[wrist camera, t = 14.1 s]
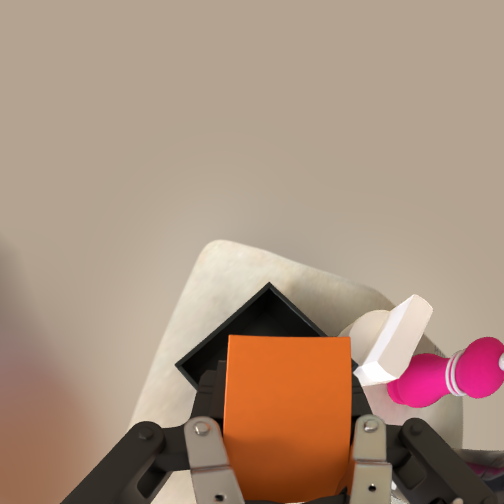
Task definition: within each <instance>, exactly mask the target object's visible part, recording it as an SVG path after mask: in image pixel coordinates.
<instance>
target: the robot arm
mask: <svg viewBox="0 0 504 504" xmlns="http://www.w3.org/2000/svg"><path fill="white" fill-rule="evenodd" d="M226 372H227V361H220V360H219V361H218V366H217V371H214V370H206V371H205V373H204V374H203V375H202V376H201V378H200V381H199V386H198V389H197V393H196V397H195V401H194V405H193V409H192V413H191V416H190V418H189V420H188V421H187V422H186V423H184V424H183V425H181V426H178V427H172V428H161V427H160V426H159V425H158V424H156V423H154V422H150V421H143V422H139V423H137V424H135V425H134V426H133V427H132V428H131V429H130V430H129V431H128V432H127V433H126V434H125V436H124V437H123V438H122V439H121V440H120V441H119V442H118V443H117V444H116V445H115V446H114V448H113V449H112V450H111V451H110V452H109V453H108V454H107V455H106V456H105V457H104V458H103V459H102V461H101V462H100V463H99V464H98V465H97V466H96V467H95V468H94V469H93V470H92V471H91V472H90V473H89V474H88V475H87V476H86V477H85V478H84V479H83V480H82V482H81V483H80V484H79V485H78V486H77V487H76V488H75V489H74V490H73V491H72V492H71V493H70V494H69V495H68V496H67V497H66V498H65V499H64V500H63V501H62V502H61V503H60V504H150V503H151V502H152V501H153V499H154V498H155V497H156V495H157V494H158V492H159V491H160V490H161V488H162V487H163V485H164V484H165V483H166V481H167V480H168V478H169V477H170V475H171V474H172V473H173V471H181V470H190V469H191V470H190V472H191V478H192V483H193V488H194V493H195V497H196V502H197V504H284V503H278V502H273V501H268V500H244V499H243V496H242V493H241V490H240V487H239V484H238V481H237V478H236V475H235V472H234V469H233V467H232V465H230V462H229V459H228V456H227V452H226V449H225V445H224V442H223V424H224V406H225V389H226ZM391 495H392V496H393V497H395V498H397V499H399V500H402V501H404V502H406V503H407V504H504V451H484V450H468V449H457V448H451V447H450V446H449V445H448V444H447V443H446V442H445V441H444V440H443V439H442V438H441V437H440V436H439V435H438V434H437V433H436V432H435V431H434V430H433V429H432V428H431V427H430V426H429V424H428V423H427V422H425V421H424V420H422V419H419V418H411V419H408V420H407V421H405V423H404V424H403V426H398V425H387V424H385V422H384V421H383V419H381V418H380V417H378V416H376V415H373V414H372V411H371V408H370V406H369V403H368V401H367V398H366V396H365V394H364V391H363V389H362V387H361V384H360V381H359V379H358V377H356V376H355V375H354V374H353V373H352V406H351V435H350V452H349V462H348V467H347V470H346V473H345V474H344V476H343V477H342V479H341V480H340V481H339V483H338V486H337V489H336V492H335V494H334V496H327V497H321V498H318V499H314V500H311V501H308V502H305V503H301V504H391Z"/></svg>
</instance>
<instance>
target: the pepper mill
mask: <svg viewBox="0 0 504 504" xmlns="http://www.w3.org/2000/svg"><path fill="white" fill-rule="evenodd" d="M503 381H504V345H503V344H502V343H501V342H500V341H499V340H497V339H496V338H493V337H484V338H480V339H477V340H475V341H474V342H472V343H471V344H470V345H469V346H468V347H467V348H466V349H463V350H460V351H458V352H456V353H455V354H453V355H452V357H451V358H442V357H440V356H438V355H435V354H430V353H424V354H419V355H415V356H413V357H412V358H411V361H410V363H409V366H408V367H407V369H406V370H405V371H404V373H403V374H402V375H401V376H400V378H399V379H396V380H393V381H391V382H389V383H387V389H388V393H389V396H390V397H391V399H392V400H393V401H394V402H396V403H398V404H407V405H408V406H410V407H414V408H421V407H426V406H429V405H431V404H433V403H435V402H436V401H438V400H439V399H440V398H441V397H442V396H444V395H446V394H450V393H452V394H453V395H455V396H463V395H464V396H465V395H469V396H470V397H473V398H483V397H487V396H489V395H491V394H493V393H494V392H495V391H497V390H498V389H499V387H500V386H501V385H502V383H503Z"/></svg>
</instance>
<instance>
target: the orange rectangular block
mask: <svg viewBox="0 0 504 504" xmlns="http://www.w3.org/2000/svg"><path fill="white" fill-rule="evenodd" d="M351 406H352V368H351V338H350V337H349V336H348V337H269V336H245V335H229V342H228V357H227V372H226V389H225V406H224V424H223V442H224V445H225V449H226V452H227V456H228V459H229V462H230V465H232V467H233V469H234V472H235V475H236V478H237V481H238V484H239V487H240V490H241V493H242V496H243V499H244V500H268V501H273V502H278V503H298V502H308V501H311V500H314V499H318V498H321V497H327V496H334V494H335V492H336V489H337V486H338V483H339V481H340V480H341V479H342V477H343V476H344V474H345V473H346V470H347V467H348V462H349V452H350V435H351Z"/></svg>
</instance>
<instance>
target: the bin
mask: <svg viewBox="0 0 504 504" xmlns="http://www.w3.org/2000/svg"><path fill="white" fill-rule="evenodd" d="M229 335H245V336H269V337H328V336H327V335H326V334H325V333H324V332H323V331H322V330H321V329H319V328H318V327H317V326H316V325H315V324H314V323H313V322H312V321H311V320H310V319H309V318H308V317H307V316H305V315H304V314H303V313H302V312H301V311H300V310H299V309H298V308H297V307H296V306H295V305H294V304H293V303H291V302H290V301H289V300H288V299H287V298H286V297H285V296H284V295H283V294H282V293H281V292H280V291H279V290H278V289H276V288H275V287H274V286H273V285H272V284H271V283H270V282H268V283H267V284H266V285H265V286H264V287H263V288H262V289H261V290H260V291H258V292H257V293H256V294H255V295H254V296H253V297H252V298H251V299H250V300H248V301H247V302H246V303H245V304H244V305H243V306H242V307H241V308H239V309H238V310H237V311H236V312H235V313H234V314H233V315H232V316H230V317H229V318H228V319H227V320H226V321H225V322H224V323H222V324H221V325H220V326H219V327H218V328H217V329H216V330H214V331H213V332H212V333H211V334H210V335H209V336H207V337H206V338H205V339H204V340H203V341H202V342H200V343H199V344H198V345H197V346H196V347H195V348H193V349H192V350H191V351H190V352H189V353H188V354H186V355H185V356H184V357H183V358H182V359H180V360H179V361H178V362H177V363H176V364H175V366H176V367H177V368H178V370H179V371H180V372H181V373H182V375H183V376H184V377H185V378H186V379H187V380H188V381H189V382H190V384H191V385H192V386H193V387H194V388H195V389H196V390H197V389H198V386H199V381H200V378H201V376H202V375H203V374H204V373H205V371H206V370H214V371H217V366H218V361H219V360H220V361H227V357H228V342H229ZM358 366H359V364H358V363H356V362H355V361H354V360H353V359H352V358H351V368H352V373H353V372H354V371H355V370H356V369H357V368H358Z"/></svg>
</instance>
